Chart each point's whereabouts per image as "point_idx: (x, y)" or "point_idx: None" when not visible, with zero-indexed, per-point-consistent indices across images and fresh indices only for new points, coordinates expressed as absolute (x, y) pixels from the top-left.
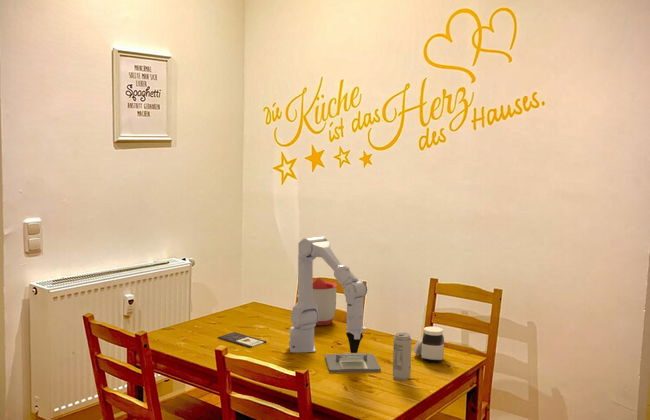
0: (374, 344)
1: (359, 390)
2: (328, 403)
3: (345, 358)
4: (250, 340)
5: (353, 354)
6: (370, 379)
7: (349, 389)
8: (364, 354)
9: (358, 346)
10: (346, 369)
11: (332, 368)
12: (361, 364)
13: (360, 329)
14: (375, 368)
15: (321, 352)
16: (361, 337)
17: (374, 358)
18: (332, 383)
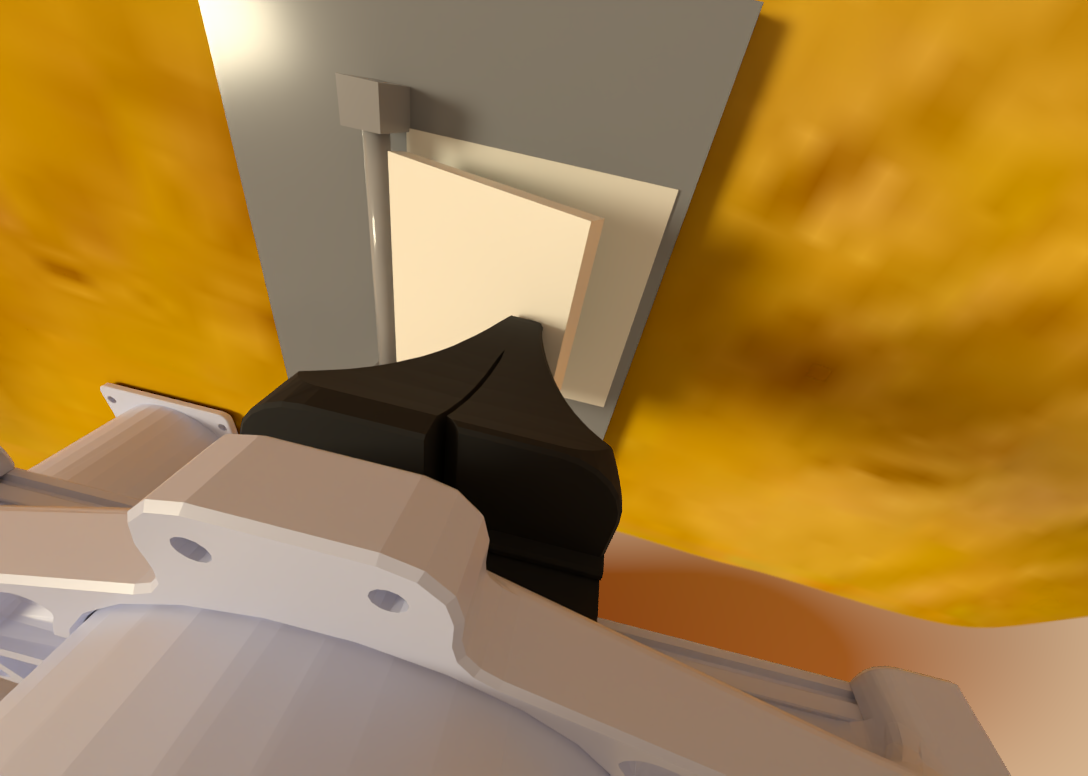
0: None
1: (1029, 420)
2: (1031, 608)
3: (370, 299)
4: None
5: (564, 369)
6: (885, 242)
7: (946, 466)
8: (596, 238)
9: (546, 362)
10: (623, 382)
11: None
12: None
13: (588, 764)
14: (712, 85)
15: (219, 379)
16: (614, 477)
17: None
18: (773, 505)
